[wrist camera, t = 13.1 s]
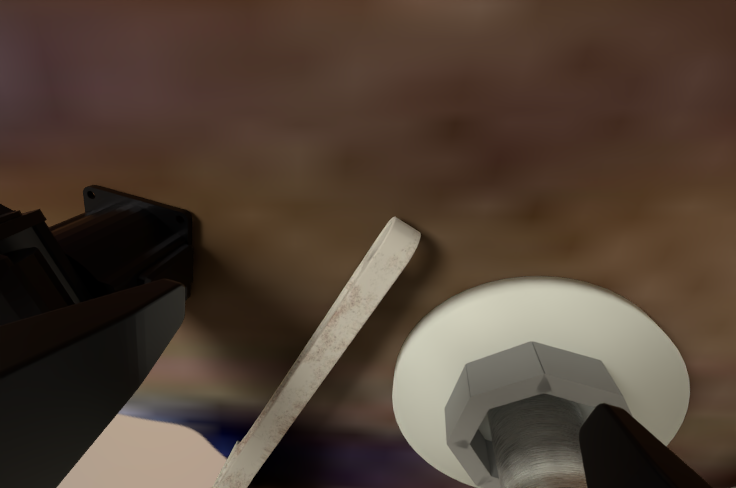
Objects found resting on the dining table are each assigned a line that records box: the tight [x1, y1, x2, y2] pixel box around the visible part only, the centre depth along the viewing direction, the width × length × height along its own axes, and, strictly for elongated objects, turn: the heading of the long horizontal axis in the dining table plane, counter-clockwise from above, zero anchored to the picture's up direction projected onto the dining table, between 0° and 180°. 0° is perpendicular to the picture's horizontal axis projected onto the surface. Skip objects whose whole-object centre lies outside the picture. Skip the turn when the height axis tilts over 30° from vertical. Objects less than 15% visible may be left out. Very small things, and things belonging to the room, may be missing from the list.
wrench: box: [212, 217, 421, 488], centre depth 24 cm, size 8×2×30 cm
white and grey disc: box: [392, 276, 690, 488], centre depth 22 cm, size 17×17×4 cm
